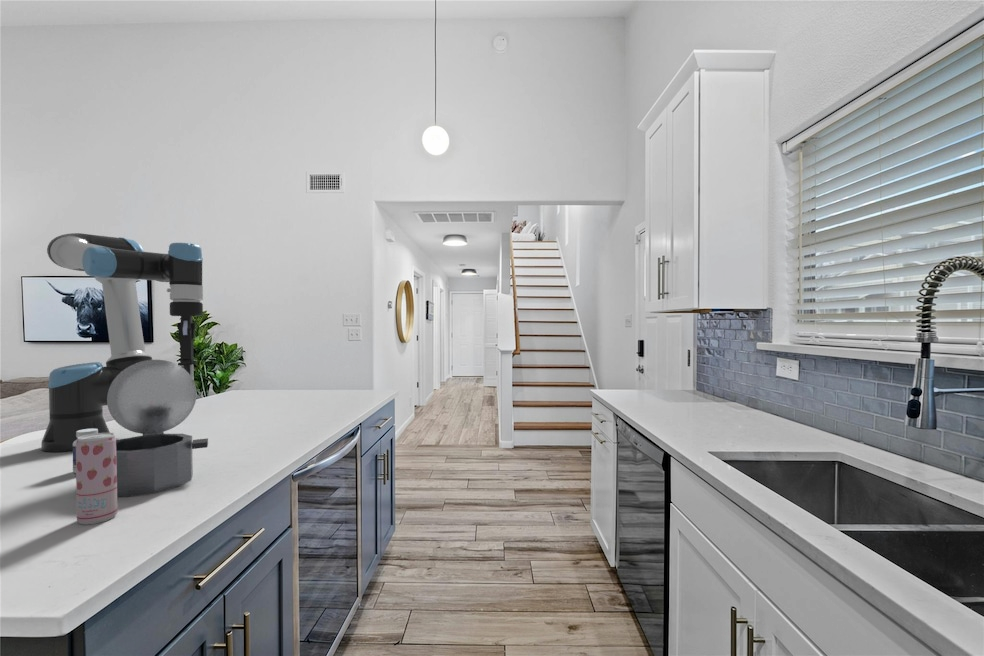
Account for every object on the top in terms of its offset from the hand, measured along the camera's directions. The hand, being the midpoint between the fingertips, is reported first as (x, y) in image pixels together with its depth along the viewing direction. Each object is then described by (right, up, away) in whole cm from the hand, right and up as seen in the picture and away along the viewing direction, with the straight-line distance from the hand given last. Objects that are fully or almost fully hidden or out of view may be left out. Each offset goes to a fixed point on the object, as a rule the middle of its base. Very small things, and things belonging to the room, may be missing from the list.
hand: (187, 389), depth 130 cm
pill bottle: (-15, -18, -14) cm, 27 cm away
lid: (+1, 0, -15) cm, 15 cm away
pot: (+6, -18, -24) cm, 30 cm away
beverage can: (+11, -18, -43) cm, 48 cm away
